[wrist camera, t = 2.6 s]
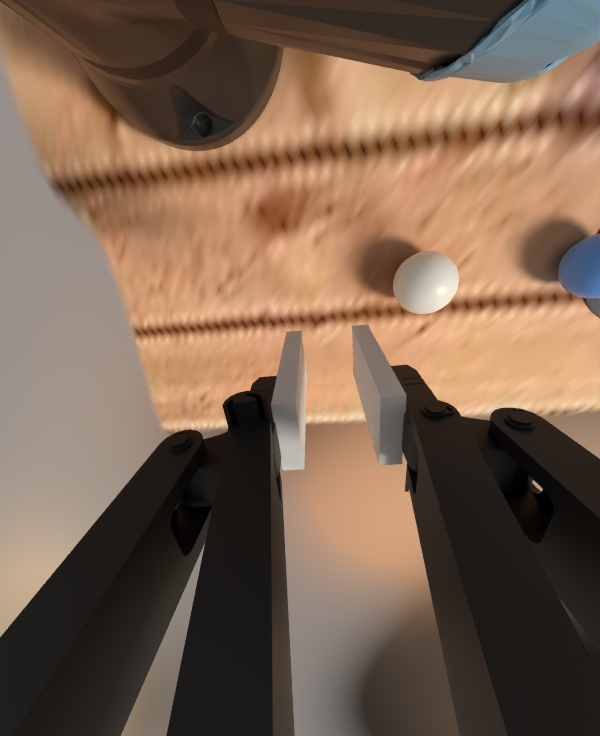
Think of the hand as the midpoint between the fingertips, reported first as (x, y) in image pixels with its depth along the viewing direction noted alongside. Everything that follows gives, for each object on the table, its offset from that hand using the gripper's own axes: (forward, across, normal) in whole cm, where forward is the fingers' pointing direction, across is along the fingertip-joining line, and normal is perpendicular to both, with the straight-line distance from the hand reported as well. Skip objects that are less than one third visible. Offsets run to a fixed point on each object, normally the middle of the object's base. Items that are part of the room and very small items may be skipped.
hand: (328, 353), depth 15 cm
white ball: (+14, +10, 0) cm, 17 cm away
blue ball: (+14, +24, 0) cm, 28 cm away
